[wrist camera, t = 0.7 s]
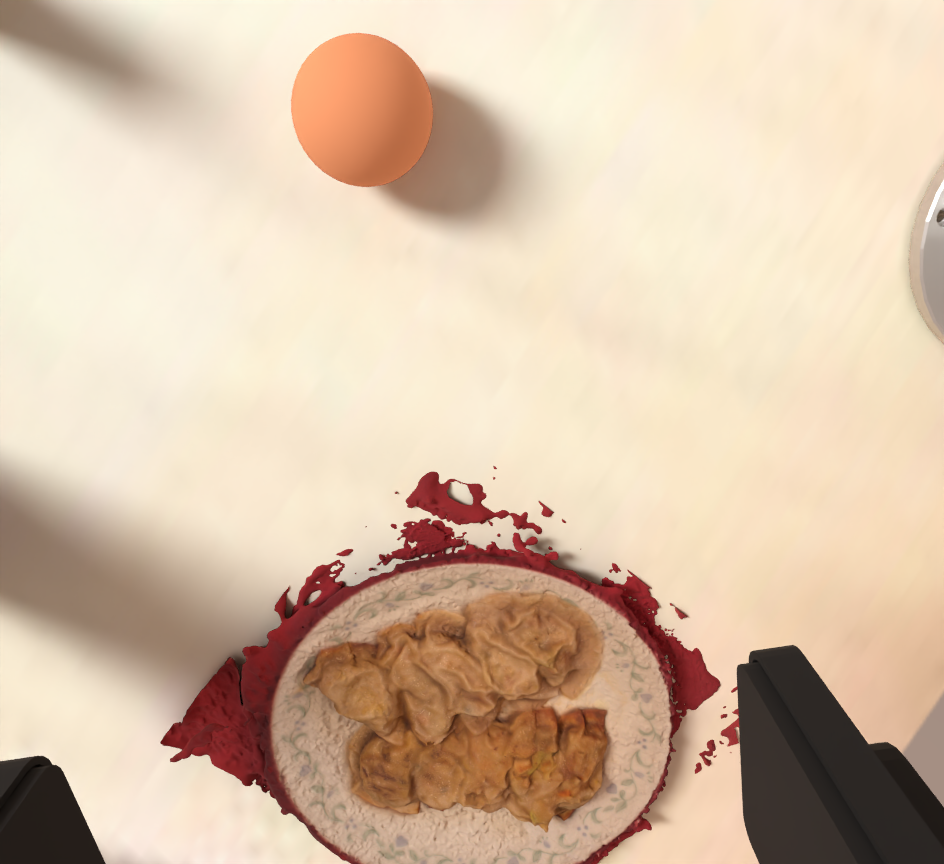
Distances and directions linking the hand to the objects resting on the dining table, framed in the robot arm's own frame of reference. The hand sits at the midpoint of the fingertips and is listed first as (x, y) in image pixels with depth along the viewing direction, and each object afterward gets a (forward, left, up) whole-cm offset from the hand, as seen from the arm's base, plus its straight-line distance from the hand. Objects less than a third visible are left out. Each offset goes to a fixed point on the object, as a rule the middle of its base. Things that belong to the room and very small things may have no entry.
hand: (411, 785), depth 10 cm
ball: (-6, -9, -23) cm, 25 cm away
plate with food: (+16, +14, -27) cm, 34 cm away
